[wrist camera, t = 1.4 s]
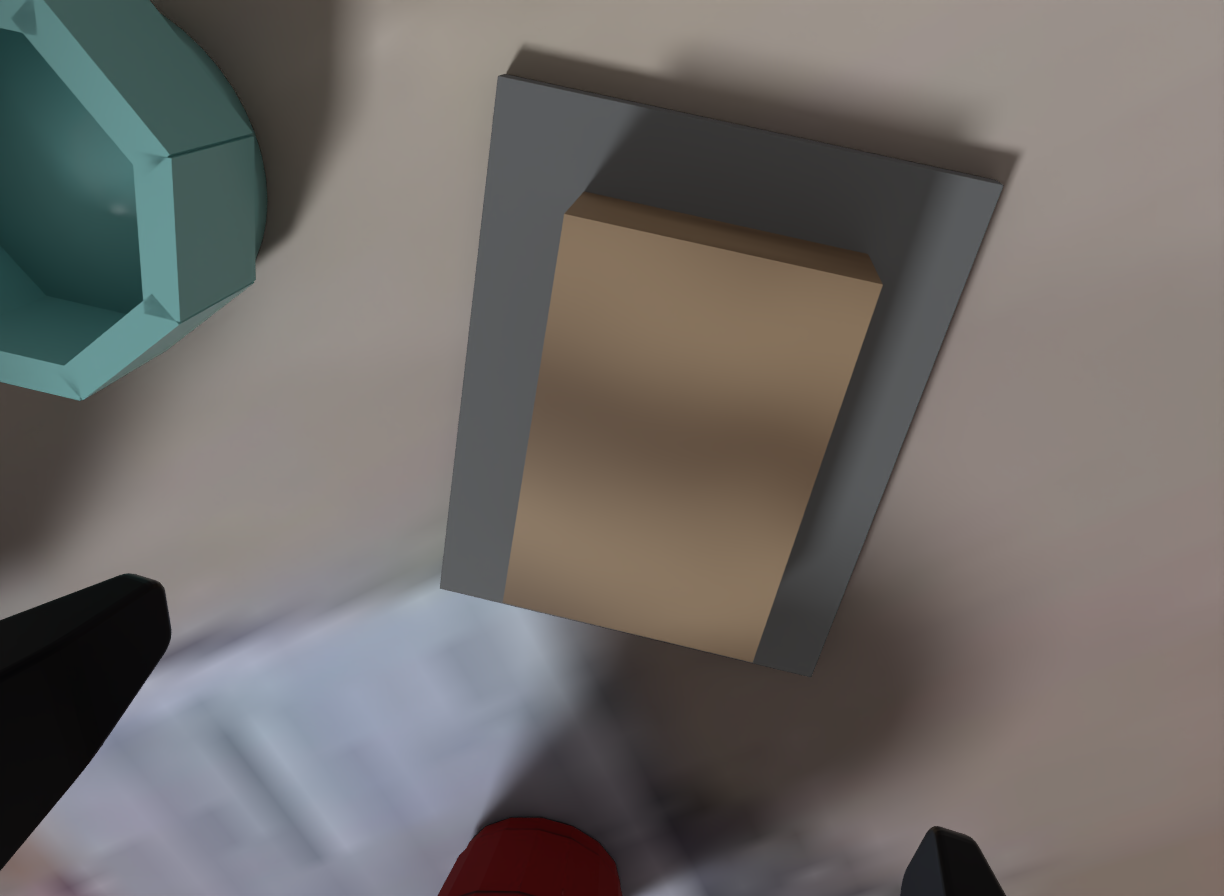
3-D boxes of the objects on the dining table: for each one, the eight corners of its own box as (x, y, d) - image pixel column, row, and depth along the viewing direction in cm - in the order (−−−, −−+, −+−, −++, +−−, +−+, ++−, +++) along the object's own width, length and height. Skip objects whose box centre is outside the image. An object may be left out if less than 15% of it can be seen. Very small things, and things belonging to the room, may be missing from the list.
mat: (810, 663, 25) (811, 677, 25) (445, 576, 26) (439, 588, 25) (996, 180, 19) (1003, 185, 18) (505, 74, 19) (498, 75, 19)
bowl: (275, 358, 23) (186, 425, 20) (-22, 290, 24) (-165, 343, 20) (275, 14, 19) (163, 16, 16) (-81, -62, 20) (-273, -78, 16)
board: (752, 604, 24) (752, 662, 22) (523, 550, 24) (502, 602, 22) (868, 253, 19) (882, 284, 17) (584, 191, 20) (564, 214, 17)
